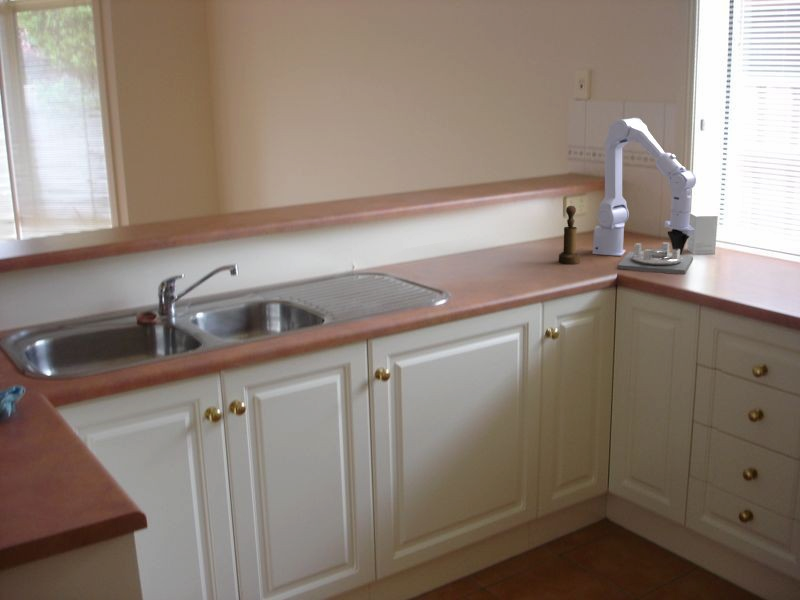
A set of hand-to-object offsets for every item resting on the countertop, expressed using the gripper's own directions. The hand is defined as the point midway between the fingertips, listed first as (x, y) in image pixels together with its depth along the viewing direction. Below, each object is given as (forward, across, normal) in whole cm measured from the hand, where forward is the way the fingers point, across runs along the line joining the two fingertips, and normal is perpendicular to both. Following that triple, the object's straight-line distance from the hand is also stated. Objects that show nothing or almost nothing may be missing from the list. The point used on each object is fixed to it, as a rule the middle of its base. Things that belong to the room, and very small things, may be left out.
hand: (677, 254), depth 293 cm
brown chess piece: (+4, -13, -30) cm, 33 cm away
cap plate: (+3, -3, -6) cm, 7 cm away
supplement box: (+4, -15, +17) cm, 23 cm away
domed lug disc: (+2, -3, -6) cm, 7 cm away
